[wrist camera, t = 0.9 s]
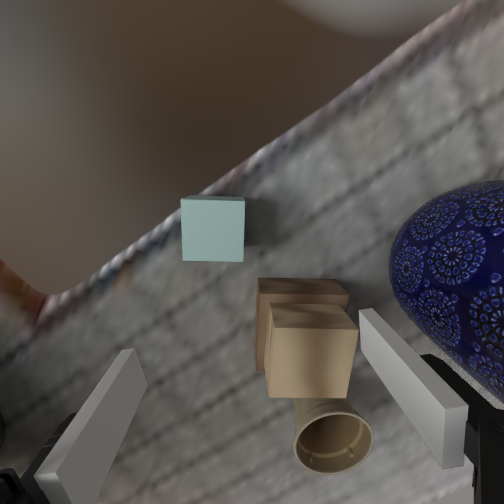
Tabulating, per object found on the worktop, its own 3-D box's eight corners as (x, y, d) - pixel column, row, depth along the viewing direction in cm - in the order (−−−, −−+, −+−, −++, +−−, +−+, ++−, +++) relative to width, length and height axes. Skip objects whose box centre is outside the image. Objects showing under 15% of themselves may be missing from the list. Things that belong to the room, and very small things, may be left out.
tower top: (264, 363, 31) (268, 397, 26) (269, 302, 29) (275, 327, 24) (329, 364, 32) (345, 398, 27) (339, 304, 29) (359, 329, 25)
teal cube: (193, 245, 32) (182, 260, 26) (192, 195, 30) (180, 199, 24) (242, 246, 32) (243, 261, 26) (244, 196, 30) (245, 201, 25)
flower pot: (313, 348, 36) (334, 398, 28) (358, 382, 38) (391, 439, 30) (268, 391, 38) (276, 451, 30) (314, 422, 40) (333, 486, 32)
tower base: (254, 344, 36) (256, 370, 31) (257, 277, 33) (260, 293, 29) (324, 344, 37) (337, 369, 32) (333, 278, 34) (349, 294, 29)
